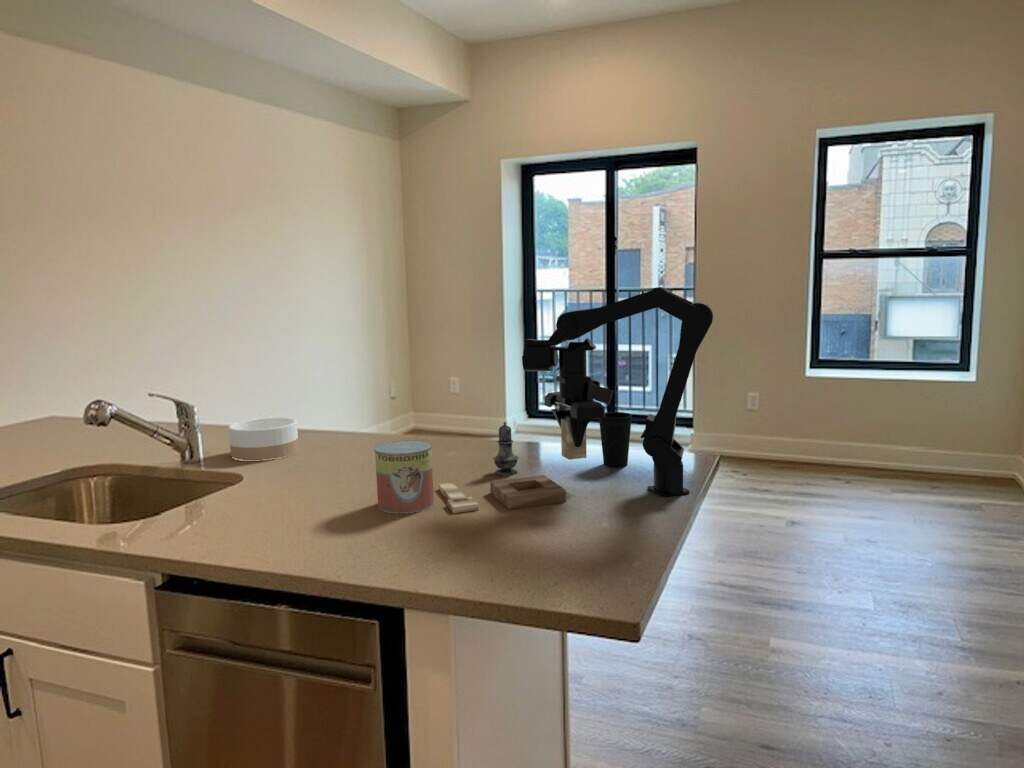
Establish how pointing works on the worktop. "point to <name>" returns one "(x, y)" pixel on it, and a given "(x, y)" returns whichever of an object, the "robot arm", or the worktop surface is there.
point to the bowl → (263, 438)
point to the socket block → (527, 491)
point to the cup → (615, 438)
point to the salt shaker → (505, 453)
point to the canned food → (404, 476)
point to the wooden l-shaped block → (457, 499)
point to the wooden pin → (571, 443)
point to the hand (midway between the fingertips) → (573, 444)
